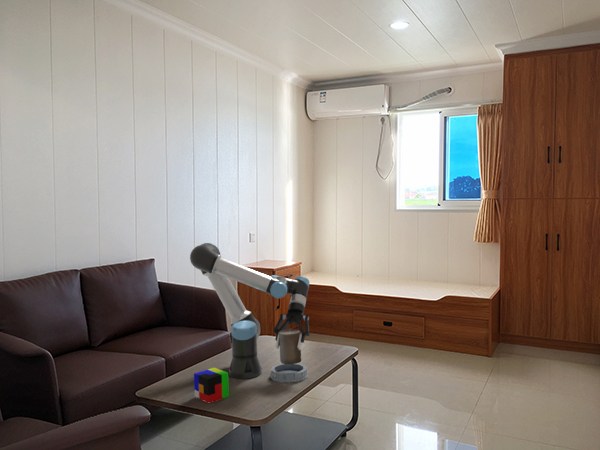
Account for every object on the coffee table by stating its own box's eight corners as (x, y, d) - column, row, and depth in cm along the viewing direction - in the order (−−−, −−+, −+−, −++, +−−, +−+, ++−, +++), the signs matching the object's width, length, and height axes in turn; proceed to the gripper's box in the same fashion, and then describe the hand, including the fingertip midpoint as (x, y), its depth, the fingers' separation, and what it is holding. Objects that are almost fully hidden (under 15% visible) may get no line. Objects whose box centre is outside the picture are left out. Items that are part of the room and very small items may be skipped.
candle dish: (263, 379, 229) (263, 371, 229) (281, 368, 244) (281, 360, 244) (297, 385, 221) (297, 376, 221) (314, 372, 236) (313, 365, 236)
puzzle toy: (194, 397, 210) (193, 373, 210) (214, 390, 217) (214, 367, 217) (208, 403, 203) (207, 379, 203) (229, 396, 210) (228, 372, 210)
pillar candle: (305, 360, 232) (304, 327, 232) (290, 365, 225) (289, 332, 225) (290, 356, 239) (289, 325, 239) (275, 362, 232) (274, 329, 231)
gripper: (321, 310, 243) (313, 353, 228) (277, 309, 249) (267, 350, 235) (317, 301, 237) (309, 345, 223) (273, 300, 244) (262, 342, 229)
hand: (287, 348), depth 229 cm, fingers closed on pillar candle, 9 cm apart
